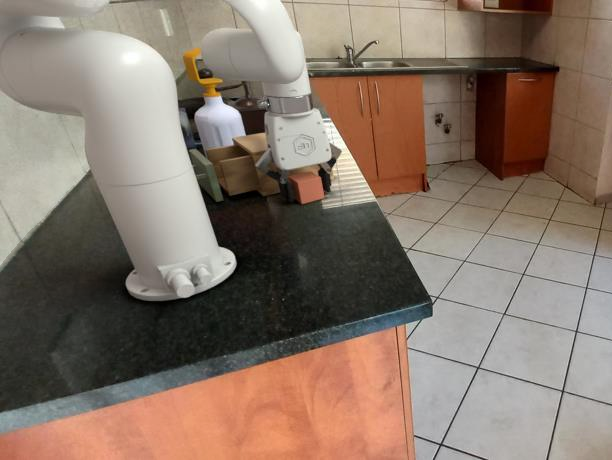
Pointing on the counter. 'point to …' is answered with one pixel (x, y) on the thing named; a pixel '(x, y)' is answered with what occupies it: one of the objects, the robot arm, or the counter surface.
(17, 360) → the counter surface
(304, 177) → the block
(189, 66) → the soap bottle
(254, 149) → the cabinet
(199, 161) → the drawer
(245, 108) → the pepper mill
